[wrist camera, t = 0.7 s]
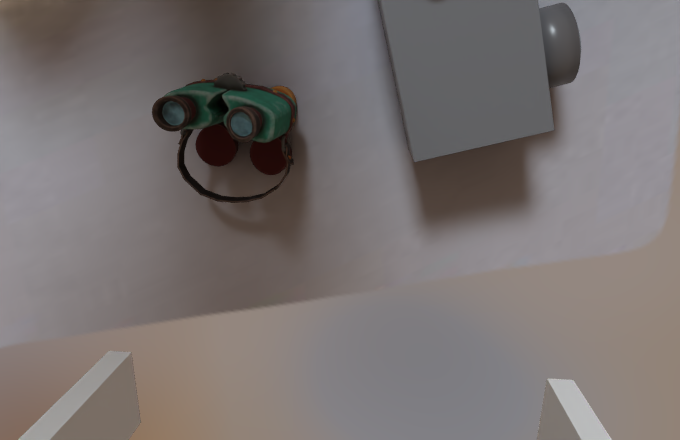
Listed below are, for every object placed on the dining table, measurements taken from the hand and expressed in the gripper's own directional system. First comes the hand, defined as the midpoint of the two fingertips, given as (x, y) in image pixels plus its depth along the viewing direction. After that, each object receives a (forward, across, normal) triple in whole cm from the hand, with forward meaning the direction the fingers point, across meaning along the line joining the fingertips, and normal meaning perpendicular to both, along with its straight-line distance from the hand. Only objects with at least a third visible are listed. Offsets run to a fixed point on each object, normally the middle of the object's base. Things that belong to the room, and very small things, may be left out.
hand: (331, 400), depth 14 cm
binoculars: (+26, -10, +5) cm, 28 cm away
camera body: (+25, +7, +13) cm, 30 cm away
